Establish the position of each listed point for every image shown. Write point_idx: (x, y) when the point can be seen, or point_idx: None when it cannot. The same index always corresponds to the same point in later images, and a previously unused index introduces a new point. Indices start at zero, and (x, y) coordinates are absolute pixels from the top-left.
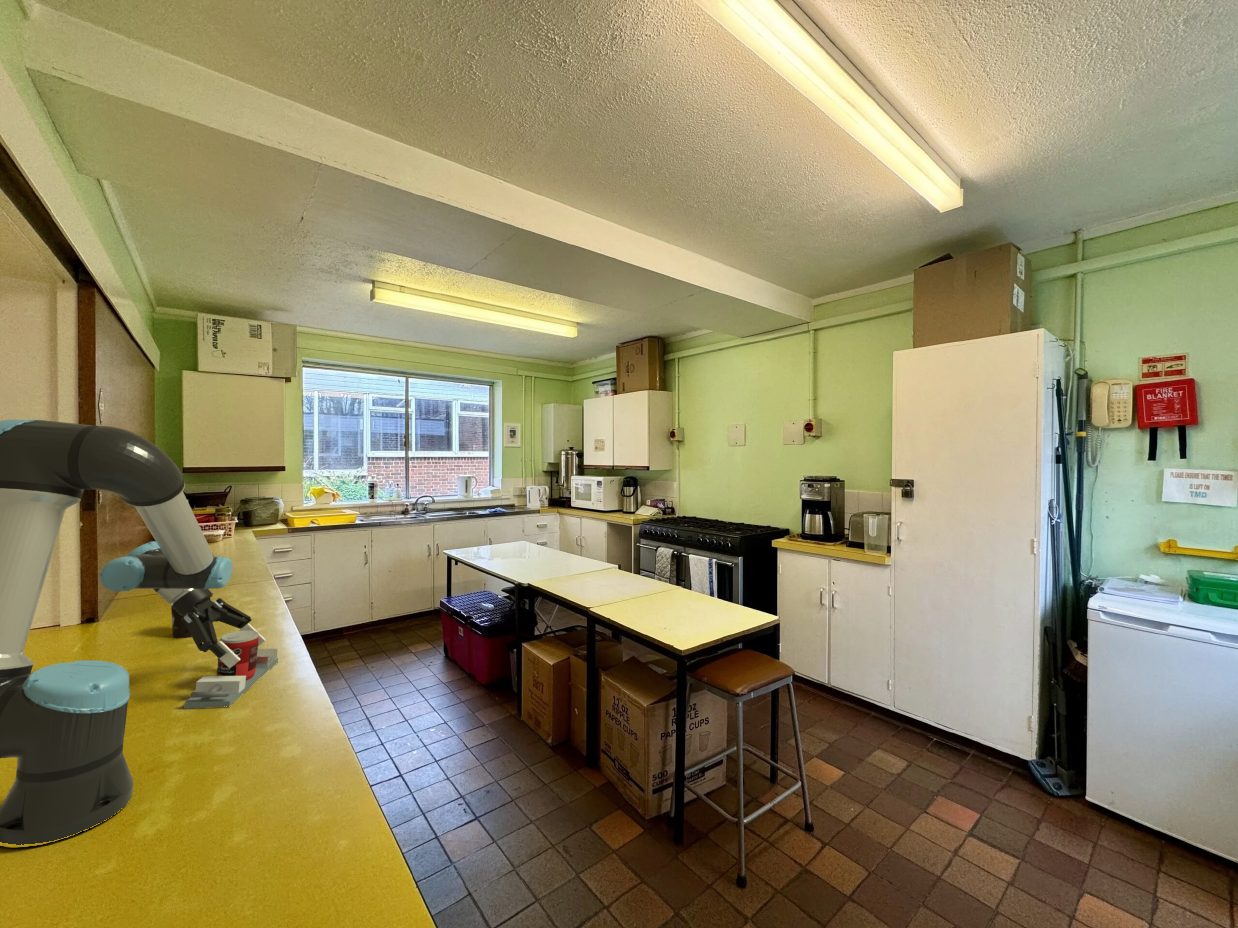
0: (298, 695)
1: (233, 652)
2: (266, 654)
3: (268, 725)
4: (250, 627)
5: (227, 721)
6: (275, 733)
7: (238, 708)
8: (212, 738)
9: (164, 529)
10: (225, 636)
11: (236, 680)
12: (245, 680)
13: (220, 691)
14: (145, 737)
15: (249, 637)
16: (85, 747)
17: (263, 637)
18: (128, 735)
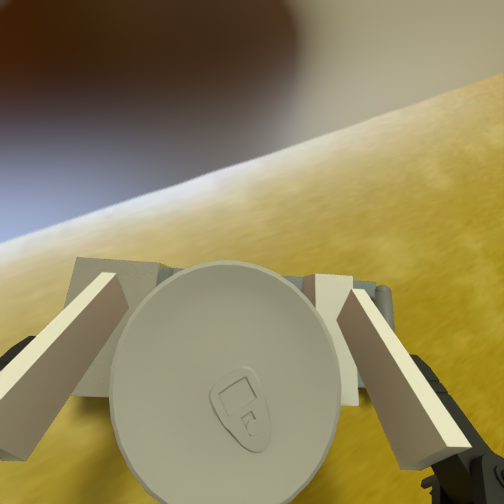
0: (313, 169)
1: (375, 325)
2: (134, 275)
3: (433, 187)
4: (21, 380)
5: (423, 261)
6: (457, 169)
7: (369, 262)
8: (483, 261)
9: None
10: (229, 486)
11: (348, 286)
12: (309, 275)
13: (387, 308)
14: (494, 390)
15: (248, 302)
16: None
17: (92, 284)
18: (491, 434)
